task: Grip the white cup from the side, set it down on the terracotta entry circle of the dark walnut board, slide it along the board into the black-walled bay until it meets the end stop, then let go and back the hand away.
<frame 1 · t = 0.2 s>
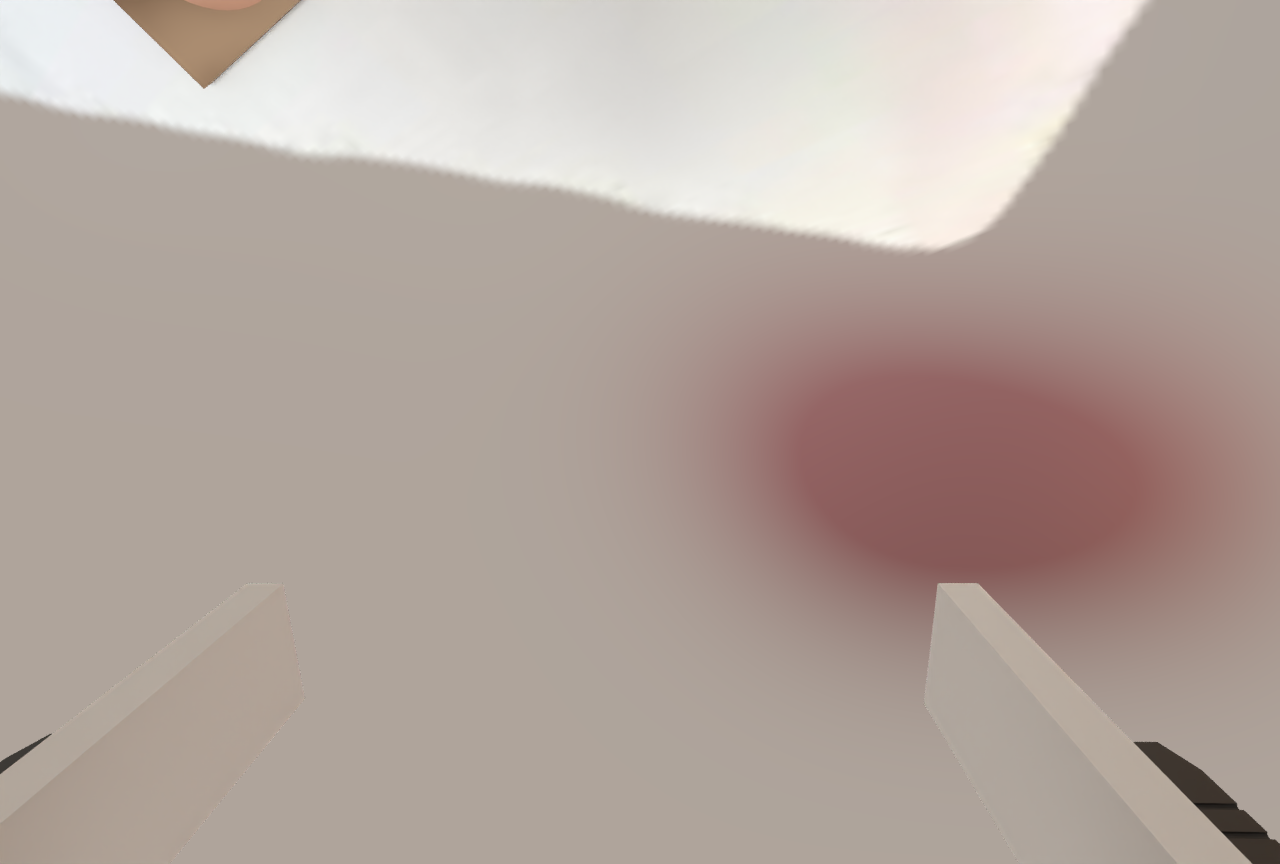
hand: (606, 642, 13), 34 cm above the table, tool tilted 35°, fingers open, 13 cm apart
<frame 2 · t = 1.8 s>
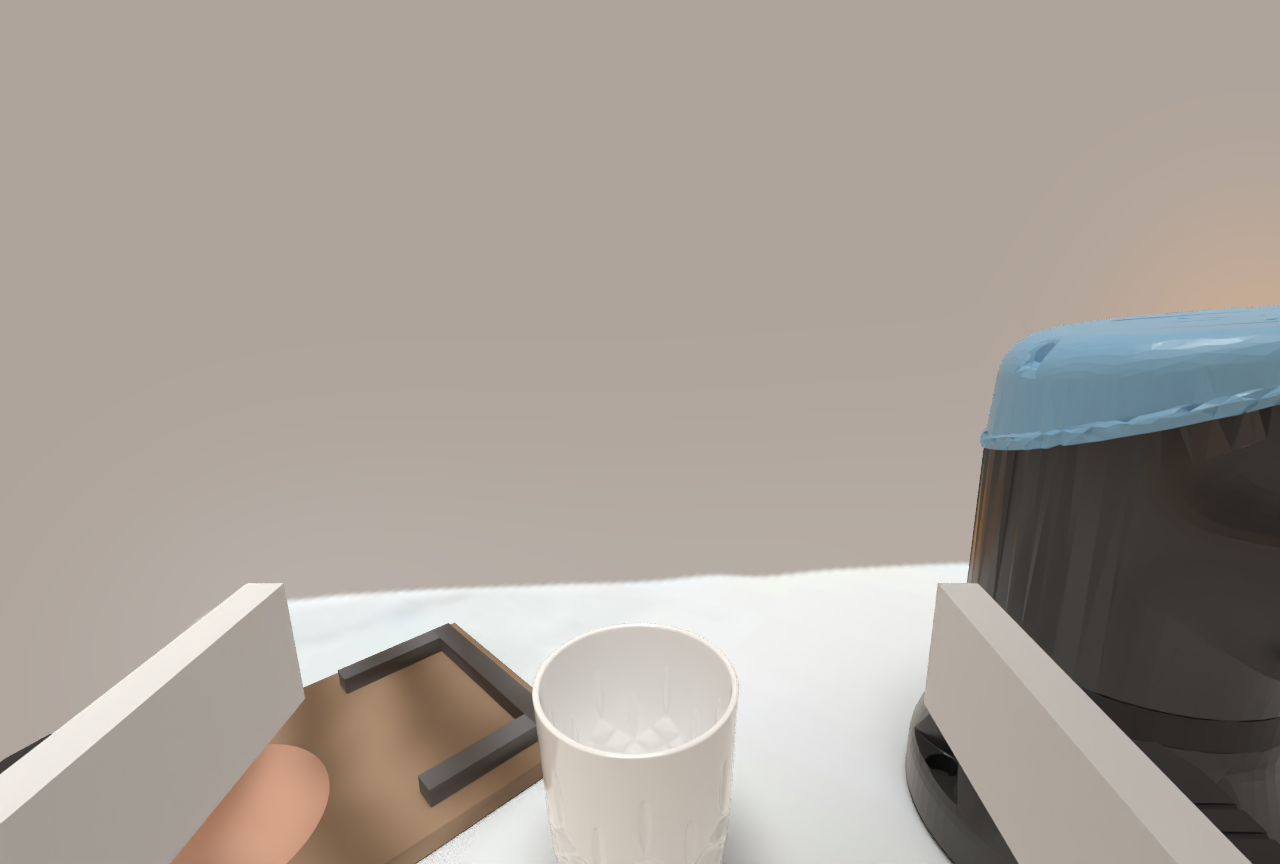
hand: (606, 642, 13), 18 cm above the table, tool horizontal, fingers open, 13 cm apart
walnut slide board: (327, 782, 32), on the table
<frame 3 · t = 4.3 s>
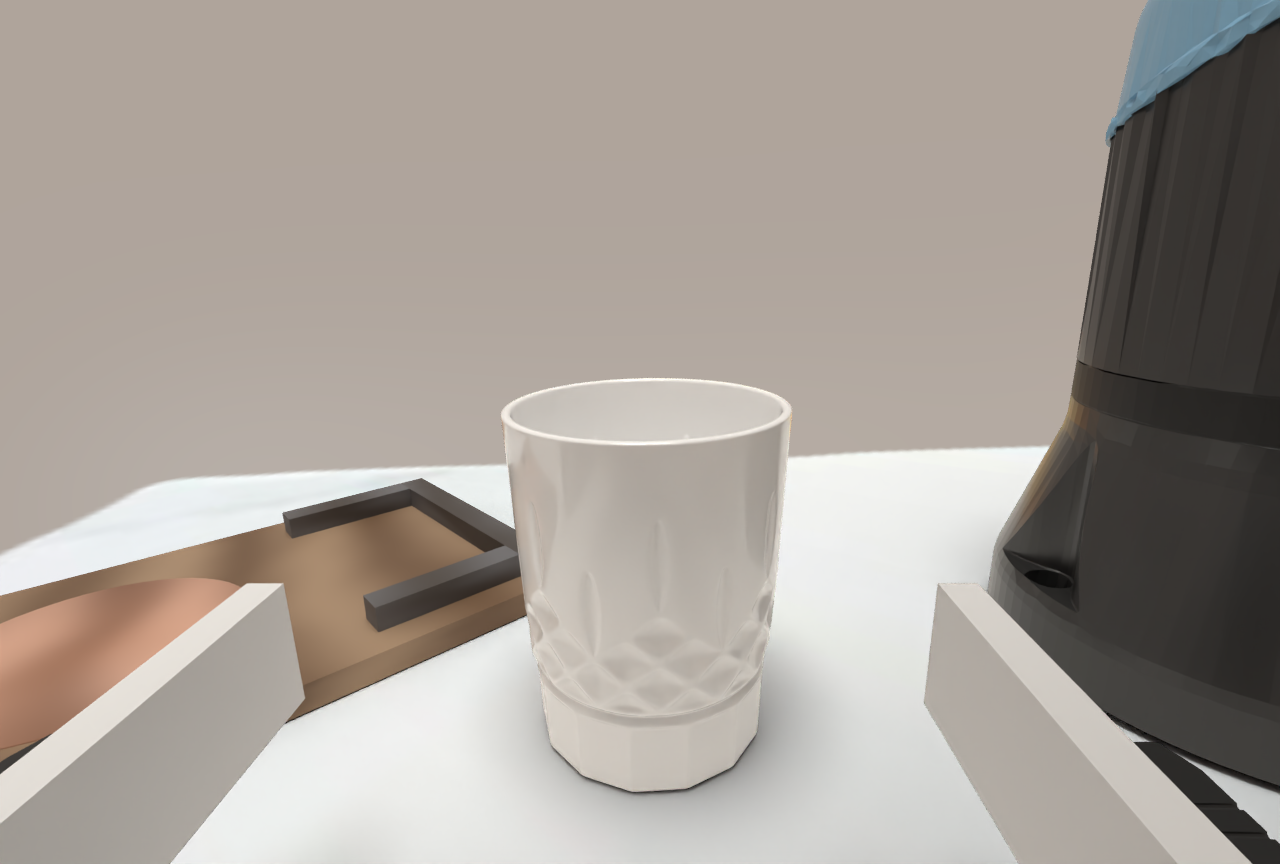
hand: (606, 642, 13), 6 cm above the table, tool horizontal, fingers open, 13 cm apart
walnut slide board: (255, 619, 25), on the table
white cup: (651, 714, 20), on the table
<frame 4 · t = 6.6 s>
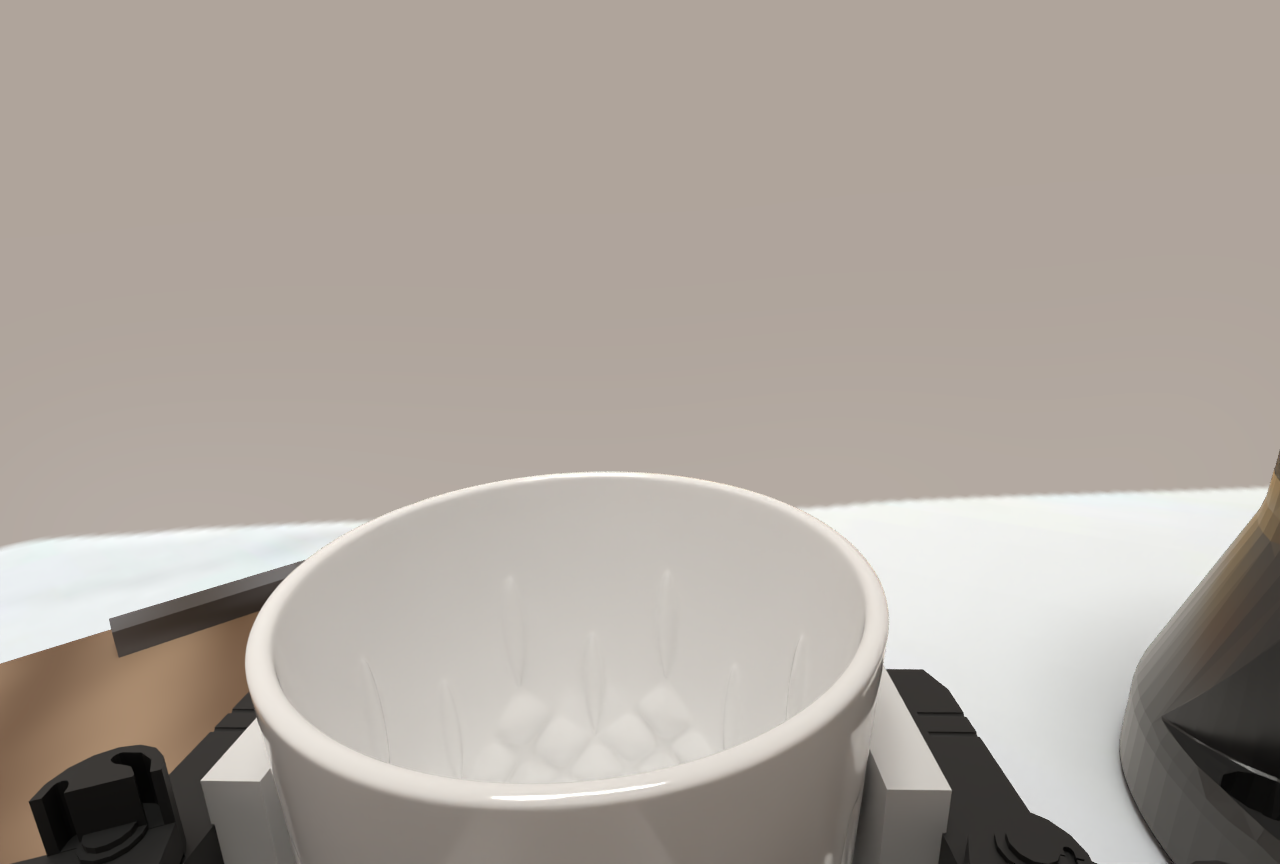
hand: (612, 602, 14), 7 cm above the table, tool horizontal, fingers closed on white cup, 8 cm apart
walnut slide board: (9, 818, 17), on the table
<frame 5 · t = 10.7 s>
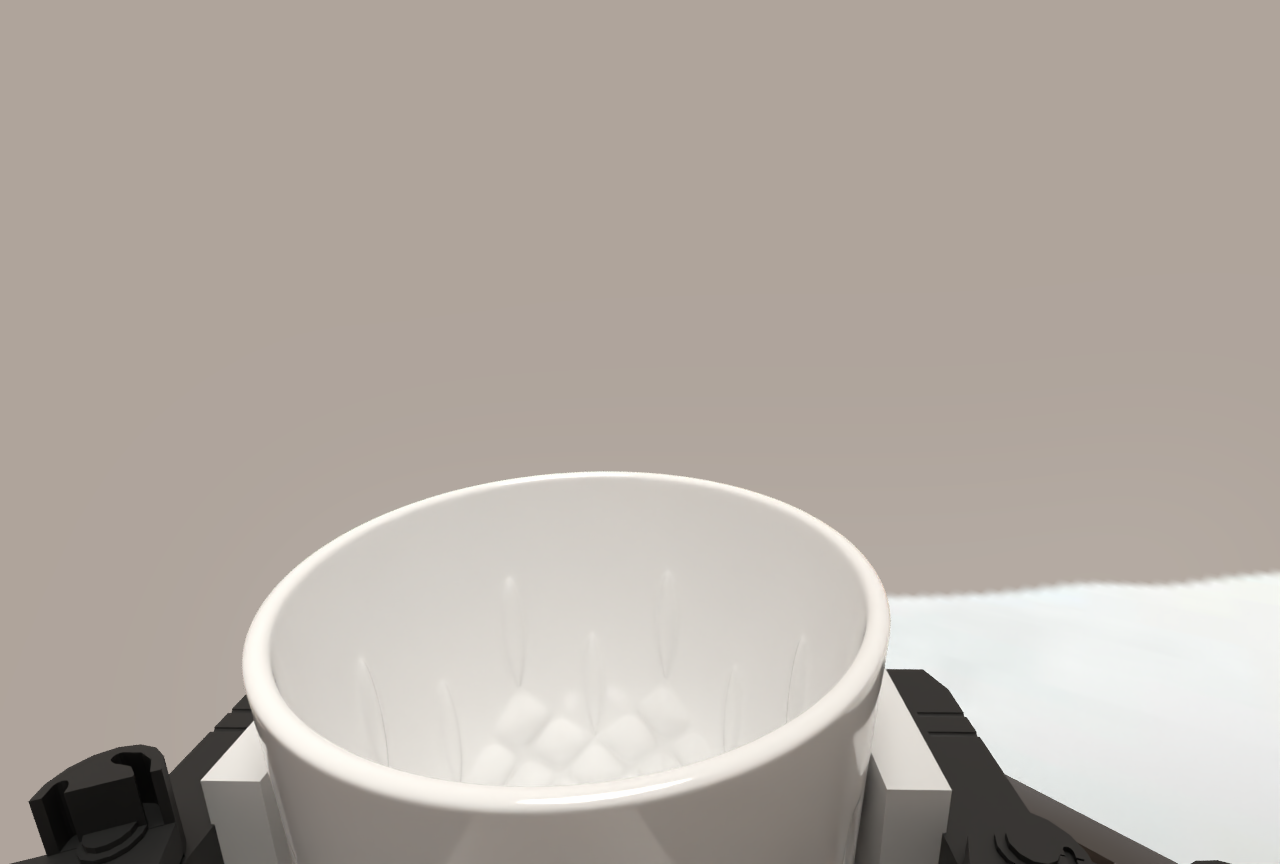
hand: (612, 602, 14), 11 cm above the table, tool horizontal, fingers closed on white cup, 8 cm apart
when the fingers open (8 cm above the table, at t = 15.1 s): white cup stays where it is, resting on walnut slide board.
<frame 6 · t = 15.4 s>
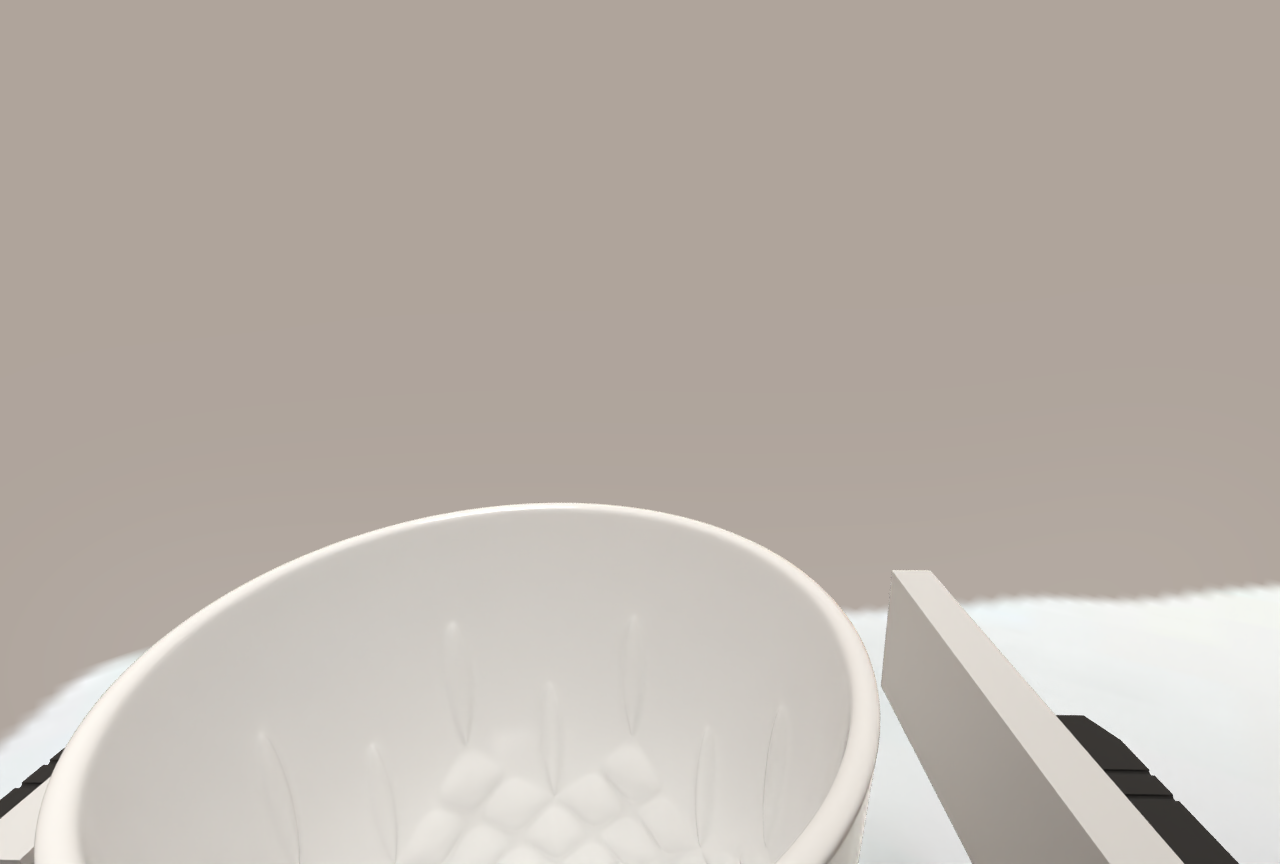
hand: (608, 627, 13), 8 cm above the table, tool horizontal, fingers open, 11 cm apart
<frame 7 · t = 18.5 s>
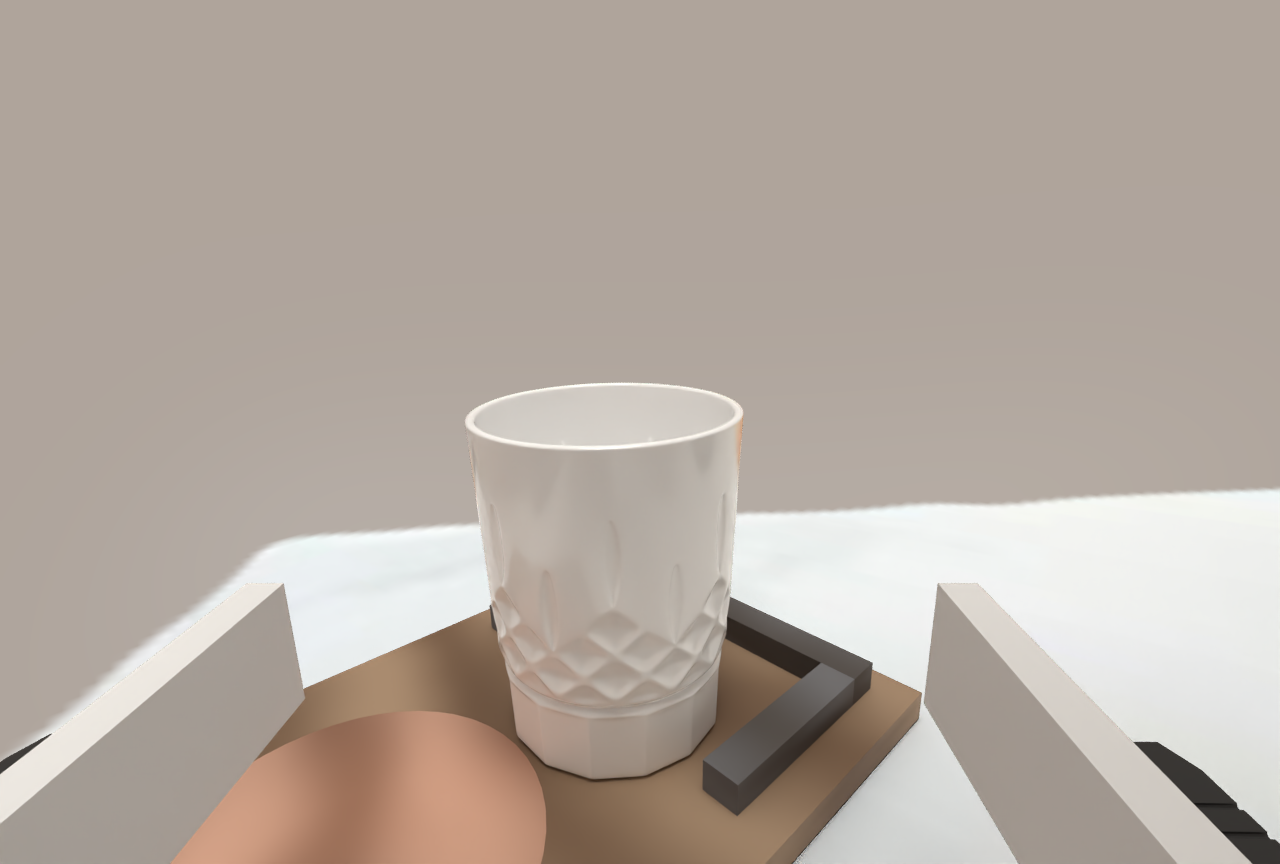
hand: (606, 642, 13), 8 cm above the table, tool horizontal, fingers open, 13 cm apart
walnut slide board: (518, 773, 19), on the table
white cup: (616, 706, 21), point 1 cm above the table, touching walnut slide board
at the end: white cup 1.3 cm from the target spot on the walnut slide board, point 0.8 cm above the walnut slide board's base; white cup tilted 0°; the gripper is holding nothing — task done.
